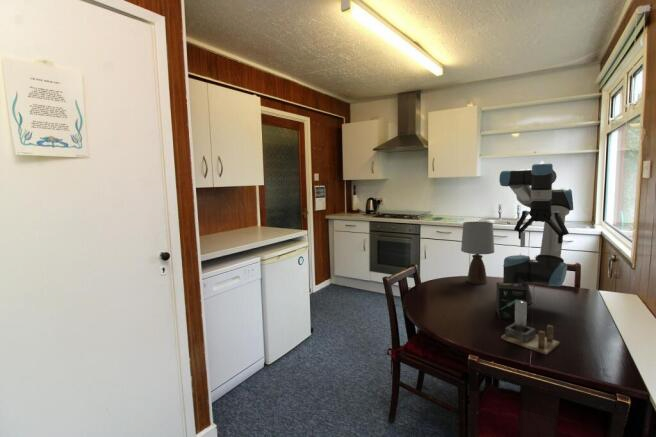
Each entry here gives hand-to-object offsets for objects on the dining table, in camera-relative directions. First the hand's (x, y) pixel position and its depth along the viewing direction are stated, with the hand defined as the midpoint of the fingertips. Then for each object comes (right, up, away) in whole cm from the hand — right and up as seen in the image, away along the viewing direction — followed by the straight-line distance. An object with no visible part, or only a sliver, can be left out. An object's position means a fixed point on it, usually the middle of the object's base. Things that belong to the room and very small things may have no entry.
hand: (539, 248), depth 141 cm
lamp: (+1, -27, +61) cm, 67 cm away
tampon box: (-7, -32, +10) cm, 35 cm away
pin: (-15, -34, -11) cm, 39 cm away
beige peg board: (-13, -35, -14) cm, 40 cm away
